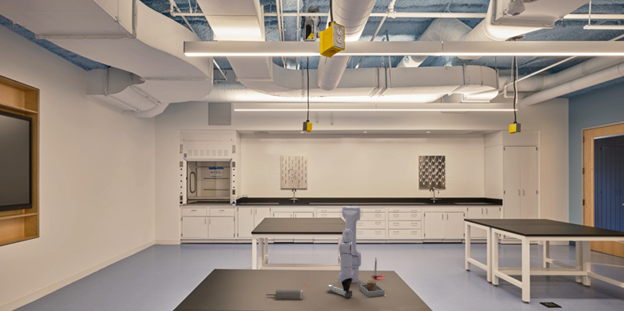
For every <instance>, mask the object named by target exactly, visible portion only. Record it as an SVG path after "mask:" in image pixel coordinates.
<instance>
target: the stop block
mask: <svg viewBox="0 0 624 311" xmlns="http://www.w3.org/2000/svg"><path fill="white" fill-rule="evenodd" d="M366 284H367V290H368V291H376V284H377V280H372V279H371V280H367V283H366Z"/></svg>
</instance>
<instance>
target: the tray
mask: <svg viewBox="0 0 624 311" xmlns="http://www.w3.org/2000/svg"><path fill="white" fill-rule="evenodd" d="M359 290H360V291H361V292H362V293H363V294H365V296H367V297H375V296H376V297H378V296H385V289H384V288H382V287H381V286H379V284H377V283H376V291H368V290H367V283H360V284H359Z"/></svg>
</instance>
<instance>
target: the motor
mask: <svg viewBox="0 0 624 311" xmlns="http://www.w3.org/2000/svg"><path fill="white" fill-rule="evenodd" d="M303 284H304V285H305V286H306V288H307V289H309V287H308V286H307V285H306V284H305V282H303ZM265 296H274V297H275V300H303V298H304V290H303V289H276V290H275V293H266V294H265Z"/></svg>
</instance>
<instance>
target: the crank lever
mask: <svg viewBox="0 0 624 311" xmlns="http://www.w3.org/2000/svg"><path fill="white" fill-rule="evenodd" d="M326 292H328V293H336V294H338V295H340V296H343V297H344V298H346V299H348V298H351V297H353V290H351V289H349V291H347V290H344V289H343V288H341V287H337V286H335V285H334V284H332V283H329V284H327V285H326Z"/></svg>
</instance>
